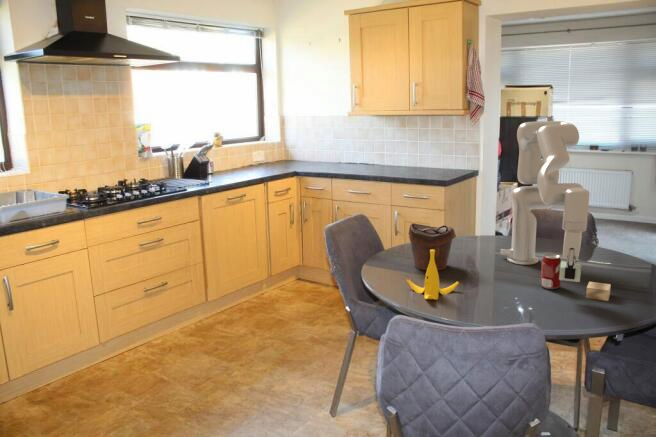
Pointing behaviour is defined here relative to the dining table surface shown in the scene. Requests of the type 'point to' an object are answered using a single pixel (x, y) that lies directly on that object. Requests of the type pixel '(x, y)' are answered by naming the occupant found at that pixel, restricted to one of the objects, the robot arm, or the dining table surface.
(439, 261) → the brown flower pot
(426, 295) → the banana peel
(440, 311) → the dining table surface
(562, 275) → the sage block
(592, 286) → the oak base block
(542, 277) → the soda can
